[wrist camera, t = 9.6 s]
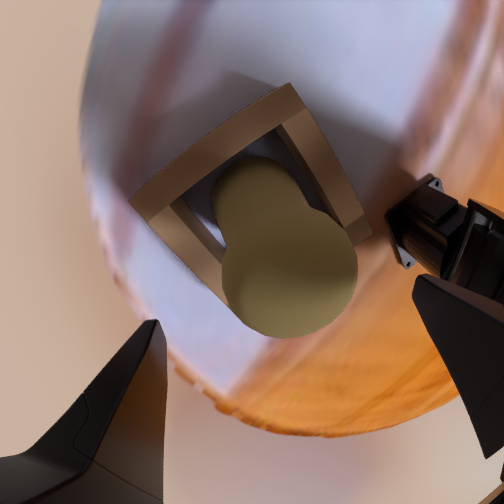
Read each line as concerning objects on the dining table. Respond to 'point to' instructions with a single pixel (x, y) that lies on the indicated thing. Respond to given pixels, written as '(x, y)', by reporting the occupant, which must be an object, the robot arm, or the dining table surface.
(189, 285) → the dining table surface
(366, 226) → the socket block
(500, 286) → the robot arm
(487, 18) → the dining table surface
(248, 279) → the cork
